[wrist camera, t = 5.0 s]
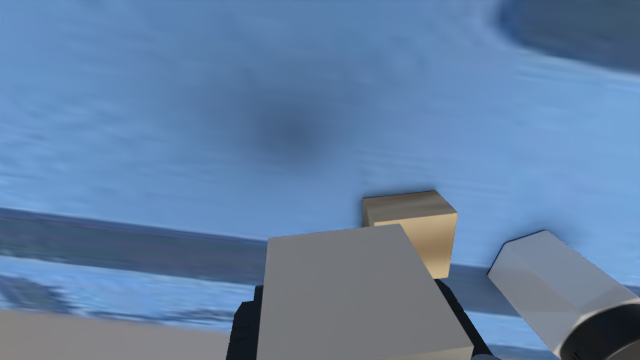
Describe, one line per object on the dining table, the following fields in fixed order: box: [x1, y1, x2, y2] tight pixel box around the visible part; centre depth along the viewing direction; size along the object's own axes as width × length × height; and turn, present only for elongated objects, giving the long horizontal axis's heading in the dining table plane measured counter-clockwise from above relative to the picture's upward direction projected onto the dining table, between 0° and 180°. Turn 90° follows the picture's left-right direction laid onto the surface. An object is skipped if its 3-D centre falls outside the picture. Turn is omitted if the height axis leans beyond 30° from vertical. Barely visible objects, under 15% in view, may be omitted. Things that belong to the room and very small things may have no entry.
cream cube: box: [256, 223, 474, 360], centre depth 10 cm, size 5×5×5 cm
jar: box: [488, 230, 640, 360], centre depth 28 cm, size 9×8×12 cm
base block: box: [363, 191, 458, 279], centre depth 27 cm, size 7×7×4 cm
